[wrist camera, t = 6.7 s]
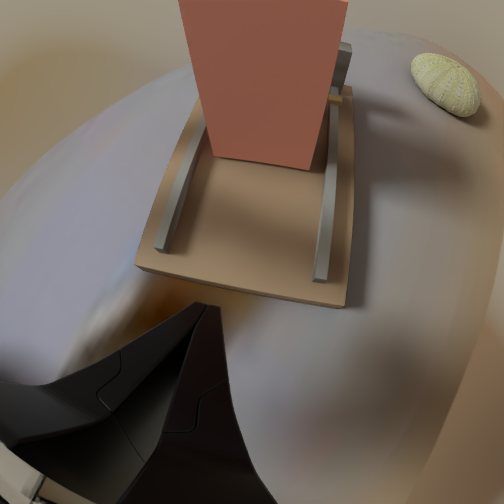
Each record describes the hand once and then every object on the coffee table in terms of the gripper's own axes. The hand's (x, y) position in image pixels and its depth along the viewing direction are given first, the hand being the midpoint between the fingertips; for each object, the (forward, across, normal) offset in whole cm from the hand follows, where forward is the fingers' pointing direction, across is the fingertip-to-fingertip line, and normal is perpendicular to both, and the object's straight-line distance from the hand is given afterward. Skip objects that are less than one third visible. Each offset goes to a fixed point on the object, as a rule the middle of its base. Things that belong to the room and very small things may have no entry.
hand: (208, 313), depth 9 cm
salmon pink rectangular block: (+12, 0, -6) cm, 14 cm away
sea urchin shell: (+24, -18, -15) cm, 34 cm away
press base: (+12, 0, -3) cm, 13 cm away
